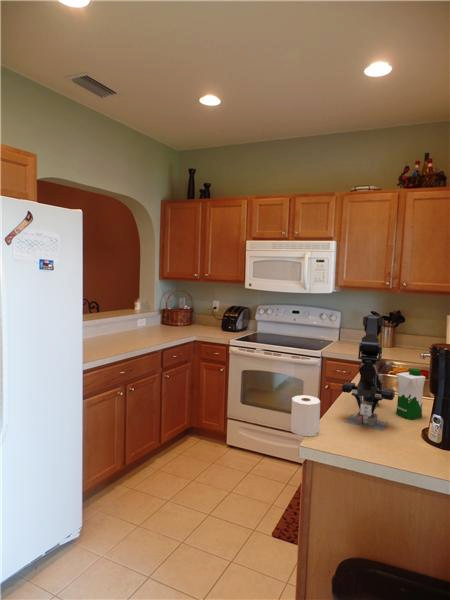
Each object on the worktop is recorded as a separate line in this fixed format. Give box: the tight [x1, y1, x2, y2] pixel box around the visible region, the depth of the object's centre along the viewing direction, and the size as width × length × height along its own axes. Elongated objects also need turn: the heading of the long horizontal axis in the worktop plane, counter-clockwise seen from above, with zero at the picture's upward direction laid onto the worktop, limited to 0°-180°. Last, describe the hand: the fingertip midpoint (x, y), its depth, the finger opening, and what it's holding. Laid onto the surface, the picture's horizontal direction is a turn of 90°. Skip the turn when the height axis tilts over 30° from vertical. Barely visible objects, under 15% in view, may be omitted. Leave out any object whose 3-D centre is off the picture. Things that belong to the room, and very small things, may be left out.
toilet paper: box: [290, 394, 321, 437], centre depth 149 cm, size 10×10×12 cm
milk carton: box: [395, 368, 426, 421], centre depth 163 cm, size 9×9×20 cm
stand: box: [344, 410, 388, 432], centre depth 156 cm, size 10×14×4 cm
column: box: [359, 400, 373, 425], centre depth 155 cm, size 5×4×8 cm
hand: (366, 412), depth 156 cm, fingers closed on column, 4 cm apart
